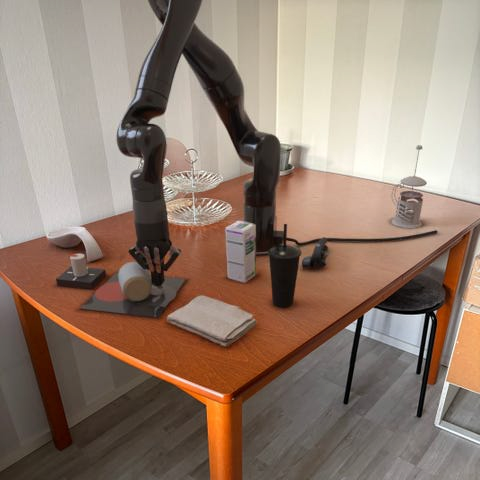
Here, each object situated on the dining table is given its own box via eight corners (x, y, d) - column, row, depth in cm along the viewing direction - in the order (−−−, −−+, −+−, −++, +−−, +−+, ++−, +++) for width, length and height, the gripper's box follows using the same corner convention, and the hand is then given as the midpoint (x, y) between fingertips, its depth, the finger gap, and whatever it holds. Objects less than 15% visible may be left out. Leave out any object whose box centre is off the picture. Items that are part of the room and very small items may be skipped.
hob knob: (90, 271, 131) (86, 253, 128) (83, 277, 128) (80, 258, 125) (78, 270, 132) (74, 251, 129) (71, 276, 129) (67, 257, 126)
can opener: (324, 274, 132) (325, 255, 129) (298, 270, 134) (299, 251, 131) (336, 249, 146) (338, 231, 143) (313, 246, 148) (314, 228, 145)
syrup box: (245, 283, 128) (245, 230, 121) (226, 278, 131) (225, 226, 123) (256, 275, 132) (256, 223, 125) (238, 270, 135) (237, 219, 127)
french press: (411, 230, 158) (425, 150, 145) (380, 221, 166) (391, 144, 153) (427, 223, 164) (442, 145, 151) (397, 214, 171) (409, 139, 158)
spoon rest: (42, 243, 153) (36, 221, 149) (76, 233, 160) (72, 212, 156) (78, 266, 138) (73, 243, 134) (115, 254, 145) (111, 231, 141)
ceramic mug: (124, 306, 118) (120, 277, 114) (120, 290, 125) (116, 263, 121) (167, 299, 121) (165, 270, 117) (161, 284, 128) (159, 257, 124)
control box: (106, 275, 133) (105, 268, 132) (92, 289, 126) (90, 281, 125) (73, 272, 135) (71, 265, 134) (57, 285, 128) (55, 278, 127)
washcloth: (228, 350, 102) (227, 337, 101) (164, 324, 111) (163, 312, 110) (259, 325, 111) (260, 313, 109) (198, 303, 120) (197, 291, 118)
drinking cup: (265, 296, 122) (266, 219, 111) (295, 294, 122) (299, 217, 112) (269, 312, 115) (270, 231, 105) (301, 310, 116) (306, 229, 105)
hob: (187, 280, 130) (187, 279, 130) (160, 318, 114) (160, 317, 113) (114, 273, 134) (114, 272, 134) (77, 309, 118) (77, 308, 118)
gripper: (116, 220, 110) (127, 289, 119) (172, 223, 107) (179, 294, 116) (130, 209, 116) (139, 276, 125) (183, 212, 113) (189, 280, 122)
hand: (158, 284), depth 120 cm, fingers closed
